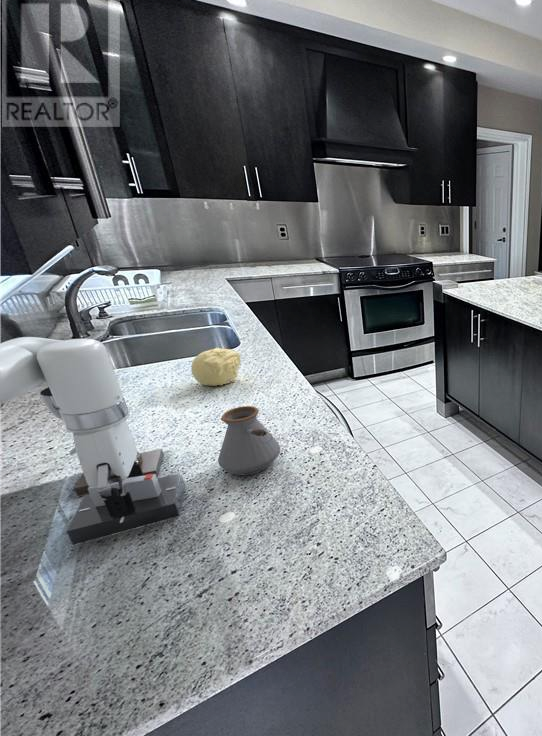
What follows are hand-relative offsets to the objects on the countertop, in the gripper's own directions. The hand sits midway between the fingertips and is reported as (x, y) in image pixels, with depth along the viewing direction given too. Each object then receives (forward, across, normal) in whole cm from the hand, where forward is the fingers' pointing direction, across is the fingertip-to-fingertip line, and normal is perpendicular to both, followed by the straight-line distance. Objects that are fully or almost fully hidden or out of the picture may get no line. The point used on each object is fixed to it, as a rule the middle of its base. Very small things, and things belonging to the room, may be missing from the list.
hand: (129, 498), depth 73 cm
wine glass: (+3, -30, -12) cm, 33 cm away
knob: (0, 0, 0) cm, 0 cm away
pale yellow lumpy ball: (+3, -59, +11) cm, 60 cm away
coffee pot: (+3, -2, +20) cm, 20 cm away
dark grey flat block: (+3, 0, 0) cm, 3 cm away
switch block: (+3, -15, -4) cm, 16 cm away
